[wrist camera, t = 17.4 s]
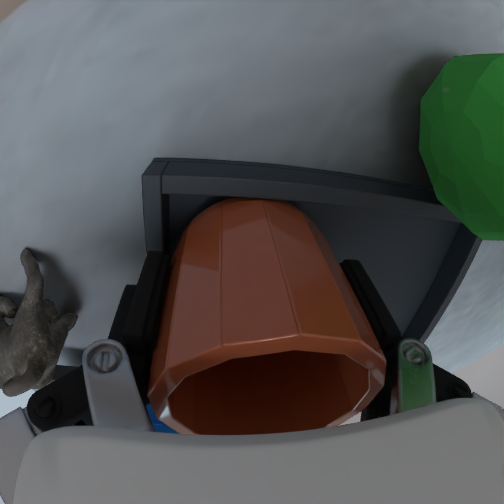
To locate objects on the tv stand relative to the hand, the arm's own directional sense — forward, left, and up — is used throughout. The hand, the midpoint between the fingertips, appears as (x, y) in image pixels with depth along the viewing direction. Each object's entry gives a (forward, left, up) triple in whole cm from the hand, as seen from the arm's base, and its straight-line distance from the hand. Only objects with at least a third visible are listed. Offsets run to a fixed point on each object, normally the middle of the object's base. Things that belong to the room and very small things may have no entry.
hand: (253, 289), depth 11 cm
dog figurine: (+14, +5, -3) cm, 15 cm away
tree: (-15, -9, -3) cm, 18 cm away
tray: (-4, +2, -3) cm, 5 cm away
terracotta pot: (0, 0, -2) cm, 2 cm away
